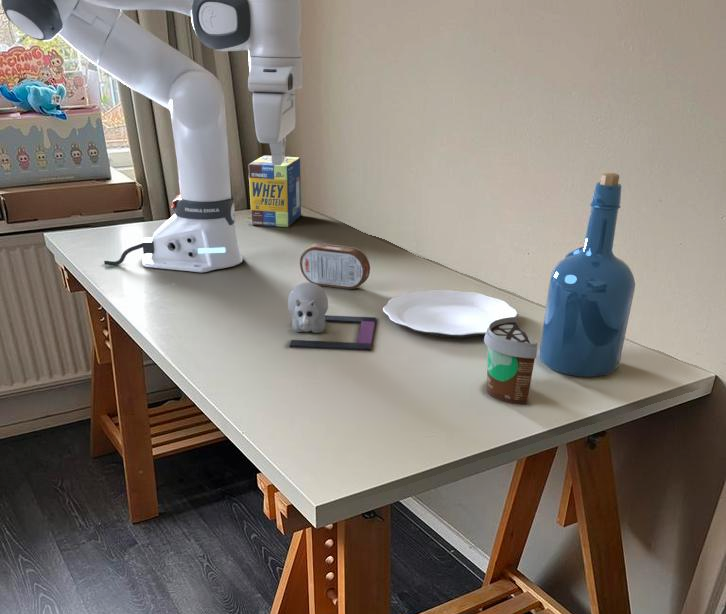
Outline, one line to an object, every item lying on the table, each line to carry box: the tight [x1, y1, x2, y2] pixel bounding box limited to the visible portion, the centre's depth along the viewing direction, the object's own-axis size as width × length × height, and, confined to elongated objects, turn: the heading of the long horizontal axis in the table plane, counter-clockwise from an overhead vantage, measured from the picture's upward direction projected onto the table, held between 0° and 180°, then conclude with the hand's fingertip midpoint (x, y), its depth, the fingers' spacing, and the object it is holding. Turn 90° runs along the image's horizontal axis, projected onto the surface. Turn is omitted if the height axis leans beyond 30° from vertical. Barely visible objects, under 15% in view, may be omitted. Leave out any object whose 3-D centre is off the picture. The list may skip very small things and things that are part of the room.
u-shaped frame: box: [289, 314, 377, 352], centre depth 141 cm, size 14×16×1 cm
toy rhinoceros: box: [287, 282, 329, 334], centre depth 138 cm, size 7×12×8 cm, turn 178°
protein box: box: [248, 154, 302, 228], centre depth 211 cm, size 10×15×16 cm
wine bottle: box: [539, 172, 636, 378], centre depth 122 cm, size 14×13×30 cm
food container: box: [483, 316, 538, 405], centre depth 117 cm, size 12×6×10 cm, turn 5°
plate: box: [382, 289, 519, 338], centre depth 147 cm, size 25×25×2 cm
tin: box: [299, 242, 371, 290], centre depth 162 cm, size 15×3×8 cm, turn 71°
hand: (278, 164), depth 138 cm, fingers closed
